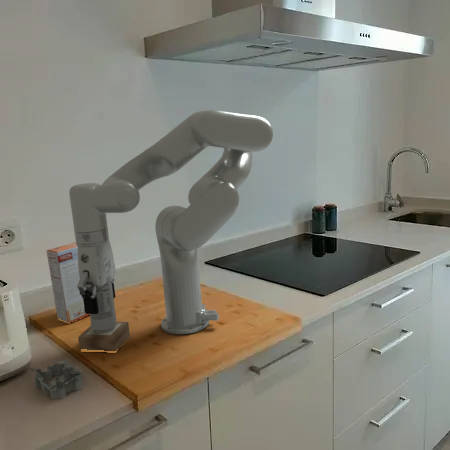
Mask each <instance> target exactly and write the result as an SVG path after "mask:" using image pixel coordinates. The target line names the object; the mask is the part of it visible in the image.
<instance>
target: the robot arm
mask: <svg viewBox="0 0 450 450" xmlns="http://www.w3.org/2000/svg"><path fill="white" fill-rule="evenodd" d="M270 123H271V122H269V121H268V120H267V119H266V118H264V117H261V116H259V115H252V114H243V113H237V112H231V111H230V112H229V111H223V110H216V109H210V110H209V109H208V110H201V111H200V110H199V111H196V112H194V113H192V114H191V115H189V116H188V117H186V118H185V119H184V120H183V121H181V122H180V123H179V124H178V125H177V126H175V127H174V128H173V129H172V130H171V131H169V132H168V133H167V134H165V135H164V136H163V137H162V138H160V139H159V140H158V141H156V142H155V143H153V144H152V145H151V146H149V147H147V149H145V150H143V151H142V152H141V153H139V154H138V155H137V156H135V157H134V158H132V159H130V160H129V161H127V162H126V163H125V164H124V165H122V166H121V167H119V168H118V169H117V170H115V172H113V173H112V174H111V175H109V176H108V177H107V178H106V179H105V180H104V182H102V184H99V183H96V182H88V183H80V184H79V183H78V184H74V185H73V186H71V187H70V189H69V194H68V195H69V202H70V209H71V215H72V216H71V217H72V222H73V223H72V224H73V229H74V230H73V231H74V239H75V242H76V245H77V246H78V269H79V277H80V281H79V283H78V285H77V287H78V289H79V291H80V295H82V298H83V301H84V309H85V313H86V314H98V313H99V309H98V302H97V297H95V294H96V288H97V287H102V286H103V285H104V284H106V278H107V276H108V275H111V282H112V290H113V298H114V299H115V298H116V290H115V289H116V288H115V278H114V277H115V276H116V274H117V273H116V265H115V259H114V254H113V253H114V252H113V248H112V245H111V241H110V237H109V228H108V219H107V218H108V217H107V214H125V213H129V212H131V211H133V210H134V209H136V207H137V206H138V205H139V203H140V200H141V196H140V195H141V194H140V191H141V189H142V188H143V189H144V187H146V186H147V185H148V184H149V185H150V184H151V183H152V182H154V181H156V180H159V179H162V178H166V177H168V176H171V175H173V174H175V173H177V172H178V171H180V170H181V169H182V168H183V167H184V166H185V165H187V164H188V163H189V162H190V161H192V160H193V159H194V158H195V157H197V155H199V154H200V153H202V152H203V151H204V150H205V149H206V148H207V147H214V148H220V149H221V148H222V149H223V152H222V155H221V157H220V158H219V159H218V161H217V162H216V163H215V164H214V165H213V166H212V167H211V168H210V169H209V170H208V171H207V172H206V173H205V174H204V175H202V176H201V177H200V178H199V179H198V180H197V181H196V182H195V183H194V184H193V185H191V188H189V190H188V191H189V192H188V196H187V199H188V203H189V206H188V207H187V208H186V207H184V206H180V205H169V206H166V207H165V208H163V209H162V210H161V211H160V212H159V214H158V215H157V217H156V219H155V224H154V225H155V228H154V229H155V235H156V241H157V244H158V249H159V255H160V256H159V257H160V264H161V276H162V277H161V278H162V284H163V287H162V288H163V294H164V295H163V297H164V306H165V316H166V317H164V318H163V319H162V320H161V321H160V326H161V327H160V328H161V329H162V330H163V331H164V332H165V333H167V334H170V335H172V334H173V335H189V334H194V333H197V332H199V331H202V330H204V329H206V328H207V327H208V326H209V323H210V321H217V322H218V321H219V319H220V317H219V316H220V314H219V312H217V310H216V309H210V310H209V309H207V308H206V304H203V301H202V290H201V289H202V288H201V276H200V262H199V261H200V260H199V254H198V249H200V248H201V247H203V246H204V245H205V244H207V242H208V241H210V240H211V238H213V237H214V236H215V235H216V234H217V233H218V232H219V231H220V230H221V229H222V228H223V227H224V225H226V224H227V223H228V222H229V221H230V220H231V218H233V216H234V215H235V213H236V212H237V210H238V207H239V203H240V194H239V191H238V189H239V187H240V186H241V185H242V184H243V183H244V182H245V181H246V180H247V178H248V176H249V174H250V173H251V169H252V166H253V165H252V164H253V152H260V151H264V150H265V149H266V148H268V146H270V145H271V143H272V141H273V138H274V137H273V136H274V131H273V127H272V124H270ZM88 283H93V284H88ZM88 288H92V291H91V292H90V291H89V290H88Z"/></svg>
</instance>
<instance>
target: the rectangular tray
mask: <svg viewBox="0 0 450 450" xmlns="http://www.w3.org/2000/svg"><path fill="white" fill-rule="evenodd" d="M130 338H131V333H130V324H129V321H117V324H116V325H115V328H114V329H113V330H112V331H110V332H106V333H97V332H95V331H94V329H92V327H91V325H89V326H88V327H87V328H86V329H85V330H83V332H82V333H81V334H80V335H79V336H78V344H79V350H80V349H87V350H104V351H116V350H117V349H118V348H120V346H121V345H122V344H123V343H124V342H125V341H126V340H127V341H128V339H130ZM127 341H126V342H127ZM126 342H125V343H126ZM125 343H124V344H125ZM124 344H123V345H124ZM123 345H122V346H123ZM120 349H121V348H120Z"/></svg>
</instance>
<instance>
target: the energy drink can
mask: <svg viewBox="0 0 450 450" xmlns="http://www.w3.org/2000/svg"><path fill="white" fill-rule="evenodd" d="M112 283H113V282H111V275H108V276H107V278H106V284H104V285H103V286H102V287H97V288H96V294H95V297H97V302H98V309H99V313H98V314H90V316H89V318H90V319H89V320H90V326H91V327H92V329H94V331H95V332H97V333H106V332H110V331H112V330H113V329H114V328H115V325H116V324H117V322H118V321H117V314H116V306H115V300H114V299H115V298H113V290H112ZM88 284H93V283H88ZM88 290H89V291H90V292H91V291H92V288H88Z"/></svg>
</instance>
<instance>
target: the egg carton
mask: <svg viewBox="0 0 450 450" xmlns="http://www.w3.org/2000/svg"><path fill="white" fill-rule="evenodd" d="M30 371H32V372H33V373H34V375H35V377H33V382H34V386H35V388H36V389H40V388H41V390H42V393H43V394H50V398H51V400H56V399H61V400H62V399H64V398H66V397H67V394H68V393H70V392H78V391H80V390H81V389H82V388H81V387H82V386H84V381H83V376H82V374H83V373H84V371H81V370H79V368H78V367H77V366H74V365H72V364H71V363H70V362H69V361H67V360H61V361H59V362H57V363H56V362H55V363H54V364H53V365H51V366H50V365H47V367H46V369H45V370H44V371H42V369H41V368H39V367H38V368H36V369H34V368H30ZM54 376H55V377H54ZM53 378H54V380H52V379H53ZM50 380H52V381H50ZM48 381H50V382H49V383H46V382H48Z"/></svg>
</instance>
